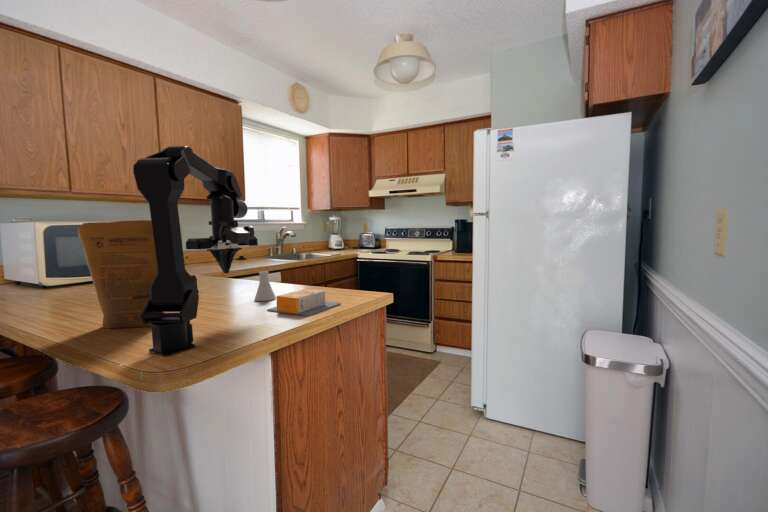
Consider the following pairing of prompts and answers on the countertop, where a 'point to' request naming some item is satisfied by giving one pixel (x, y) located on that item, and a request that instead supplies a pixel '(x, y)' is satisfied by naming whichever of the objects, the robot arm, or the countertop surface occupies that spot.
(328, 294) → the countertop surface
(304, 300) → the supplement box
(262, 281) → the flask
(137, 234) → the pancake mix bag
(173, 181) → the robot arm
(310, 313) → the mat
